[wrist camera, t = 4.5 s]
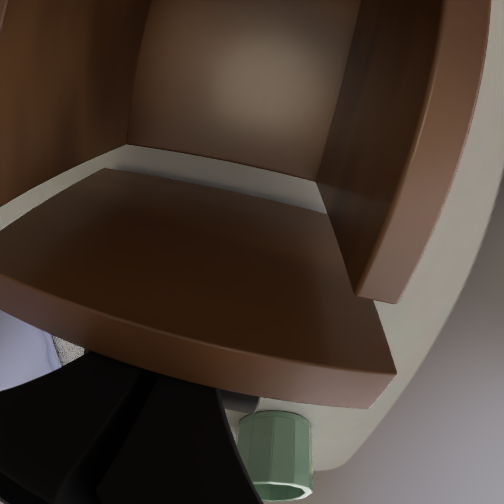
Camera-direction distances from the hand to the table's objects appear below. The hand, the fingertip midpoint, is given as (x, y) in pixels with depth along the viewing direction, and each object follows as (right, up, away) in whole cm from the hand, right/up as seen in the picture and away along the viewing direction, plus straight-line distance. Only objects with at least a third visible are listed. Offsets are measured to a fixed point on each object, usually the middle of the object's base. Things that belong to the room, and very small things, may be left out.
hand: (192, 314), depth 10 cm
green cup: (+4, -11, +11) cm, 16 cm away
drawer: (+1, +7, 0) cm, 7 cm away
